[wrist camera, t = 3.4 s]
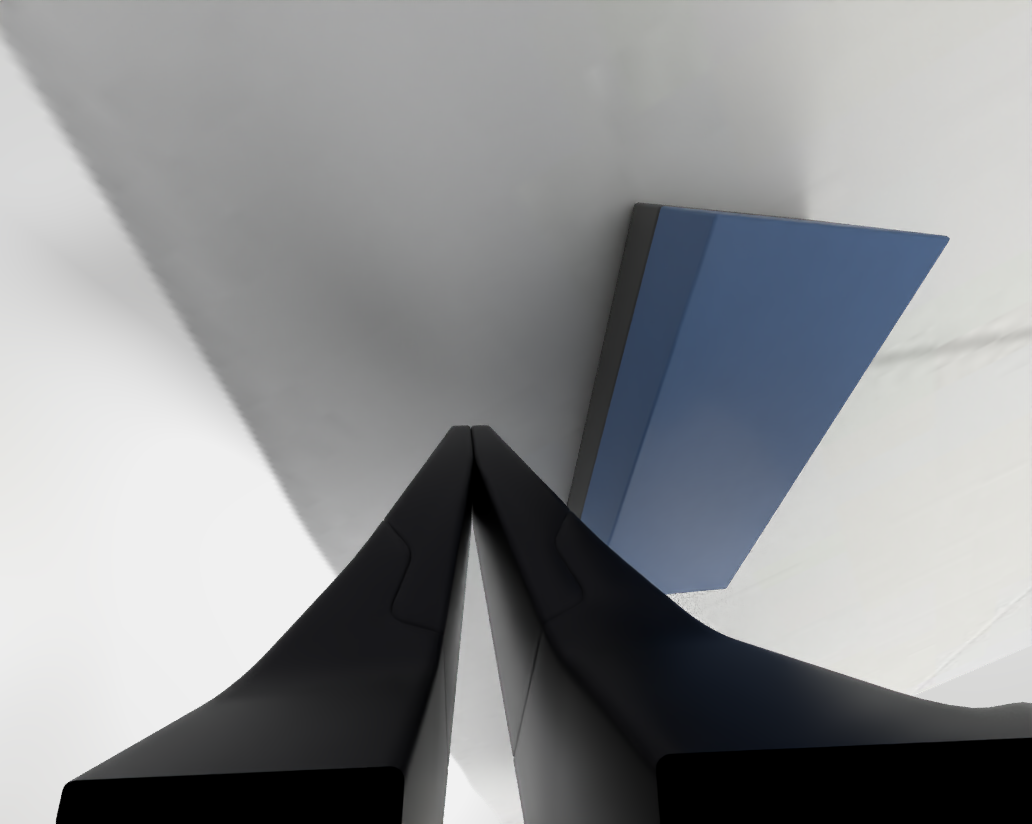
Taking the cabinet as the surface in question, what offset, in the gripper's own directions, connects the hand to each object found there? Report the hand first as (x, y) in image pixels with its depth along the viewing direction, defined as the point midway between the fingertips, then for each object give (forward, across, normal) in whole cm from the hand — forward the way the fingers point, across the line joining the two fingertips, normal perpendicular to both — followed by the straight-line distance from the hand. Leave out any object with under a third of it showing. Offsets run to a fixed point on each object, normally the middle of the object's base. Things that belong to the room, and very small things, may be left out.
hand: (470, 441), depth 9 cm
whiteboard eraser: (+2, -6, 0) cm, 6 cm away
